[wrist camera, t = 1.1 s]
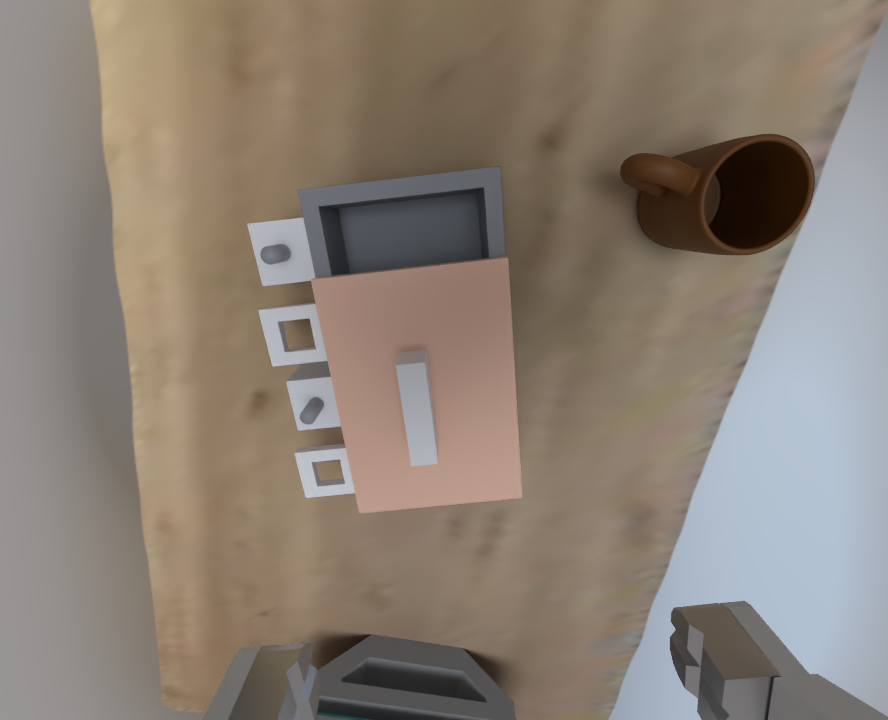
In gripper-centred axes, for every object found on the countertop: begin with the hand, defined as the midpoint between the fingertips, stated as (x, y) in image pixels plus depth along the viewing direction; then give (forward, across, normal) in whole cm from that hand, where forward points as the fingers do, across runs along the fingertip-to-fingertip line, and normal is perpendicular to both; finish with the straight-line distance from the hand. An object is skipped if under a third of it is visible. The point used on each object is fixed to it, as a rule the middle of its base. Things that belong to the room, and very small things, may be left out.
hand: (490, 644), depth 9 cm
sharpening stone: (+33, +10, +42) cm, 55 cm away
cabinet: (+31, +5, -3) cm, 32 cm away
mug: (+31, -18, -10) cm, 38 cm away
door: (+24, +5, +3) cm, 25 cm away
